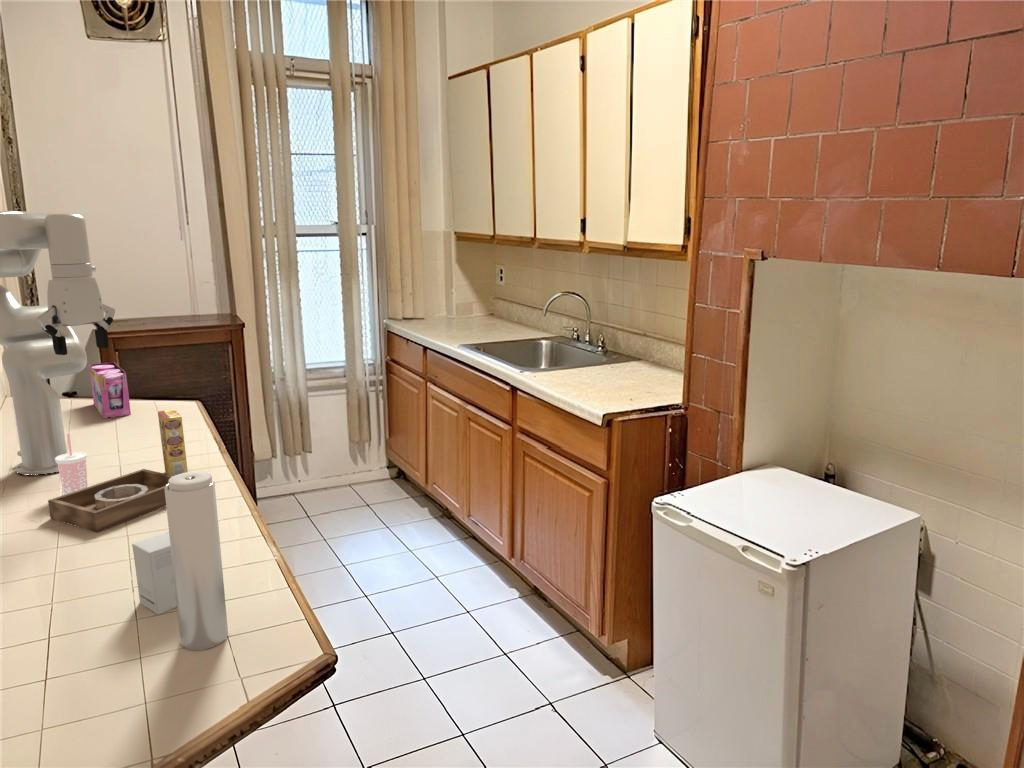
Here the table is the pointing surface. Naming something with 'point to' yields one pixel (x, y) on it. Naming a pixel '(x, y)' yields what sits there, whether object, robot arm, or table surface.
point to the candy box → (172, 442)
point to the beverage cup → (72, 470)
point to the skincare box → (155, 573)
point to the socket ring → (118, 494)
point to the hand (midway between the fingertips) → (82, 351)
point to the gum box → (109, 389)
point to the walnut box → (85, 515)
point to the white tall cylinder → (196, 560)
